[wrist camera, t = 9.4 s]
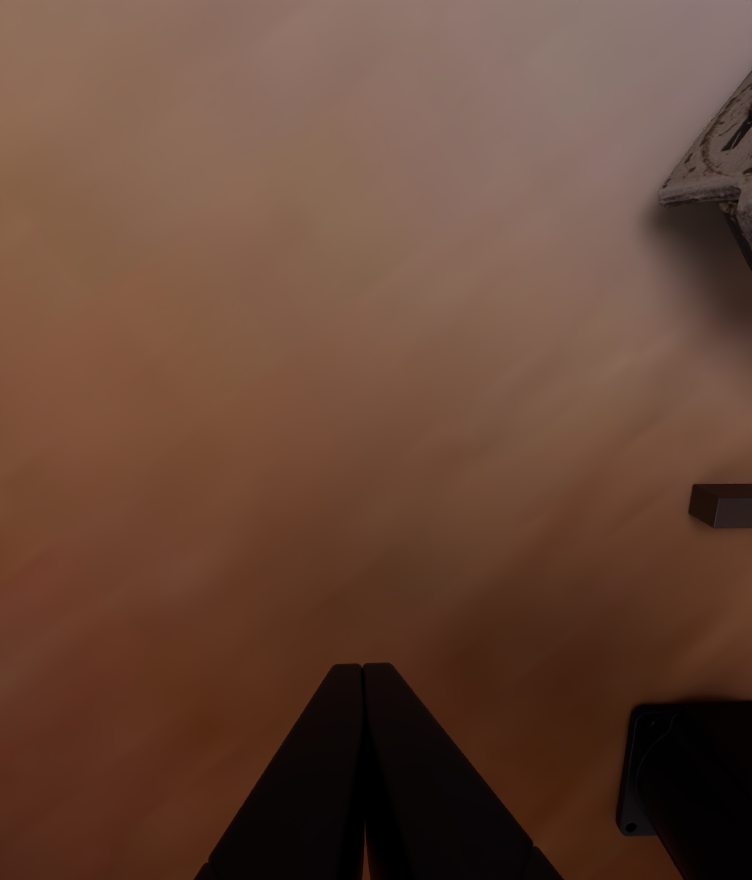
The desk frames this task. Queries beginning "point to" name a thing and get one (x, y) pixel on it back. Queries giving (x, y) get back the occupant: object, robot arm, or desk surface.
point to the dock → (722, 505)
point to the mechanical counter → (720, 168)
